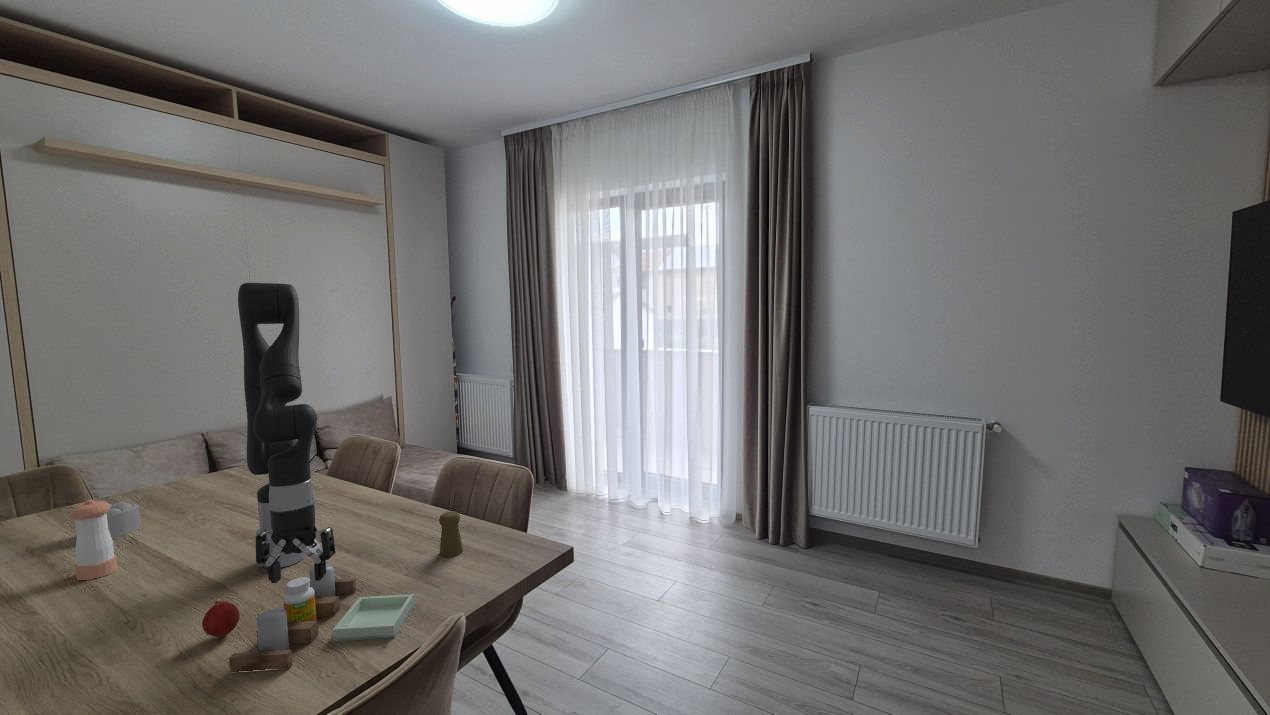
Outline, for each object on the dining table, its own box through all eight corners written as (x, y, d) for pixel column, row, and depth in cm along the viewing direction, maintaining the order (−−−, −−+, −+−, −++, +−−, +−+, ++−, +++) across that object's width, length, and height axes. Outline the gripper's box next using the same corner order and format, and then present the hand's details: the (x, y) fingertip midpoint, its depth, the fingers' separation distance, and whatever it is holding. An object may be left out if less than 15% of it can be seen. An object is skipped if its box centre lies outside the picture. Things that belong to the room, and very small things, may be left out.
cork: (455, 558, 136) (453, 518, 135) (434, 556, 137) (432, 516, 136) (467, 548, 142) (465, 509, 141) (447, 546, 143) (445, 507, 142)
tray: (333, 641, 102) (332, 629, 102) (360, 608, 113) (359, 597, 113) (394, 637, 103) (393, 625, 103) (414, 604, 114) (413, 594, 114)
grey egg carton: (75, 538, 152) (72, 509, 152) (135, 522, 163) (132, 496, 163) (85, 546, 147) (82, 516, 146) (146, 529, 158) (143, 502, 157)
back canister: (307, 609, 113) (305, 574, 113) (318, 597, 118) (316, 563, 117) (329, 607, 114) (327, 572, 113) (339, 596, 118) (337, 562, 118)
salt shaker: (124, 568, 133) (116, 496, 131) (86, 583, 126) (78, 506, 124) (107, 564, 135) (99, 493, 134) (69, 578, 128) (60, 503, 127)
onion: (218, 629, 107) (214, 592, 106) (247, 627, 107) (244, 590, 106) (196, 647, 101) (192, 608, 100) (228, 645, 101) (224, 606, 100)
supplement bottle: (293, 638, 103) (290, 591, 102) (280, 629, 106) (277, 584, 105) (321, 624, 108) (318, 579, 107) (308, 616, 111) (305, 572, 110)
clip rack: (230, 673, 93) (229, 657, 93) (311, 593, 120) (310, 580, 120) (288, 669, 94) (287, 653, 94) (356, 590, 121) (355, 578, 120)
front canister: (254, 664, 96) (250, 623, 95) (269, 648, 100) (266, 609, 99) (280, 662, 96) (276, 621, 95) (294, 646, 100) (291, 607, 100)
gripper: (242, 511, 100) (249, 592, 102) (319, 508, 101) (324, 587, 103) (267, 498, 108) (273, 573, 109) (337, 495, 109) (343, 569, 110)
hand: (298, 580), depth 106 cm, fingers open, 8 cm apart
